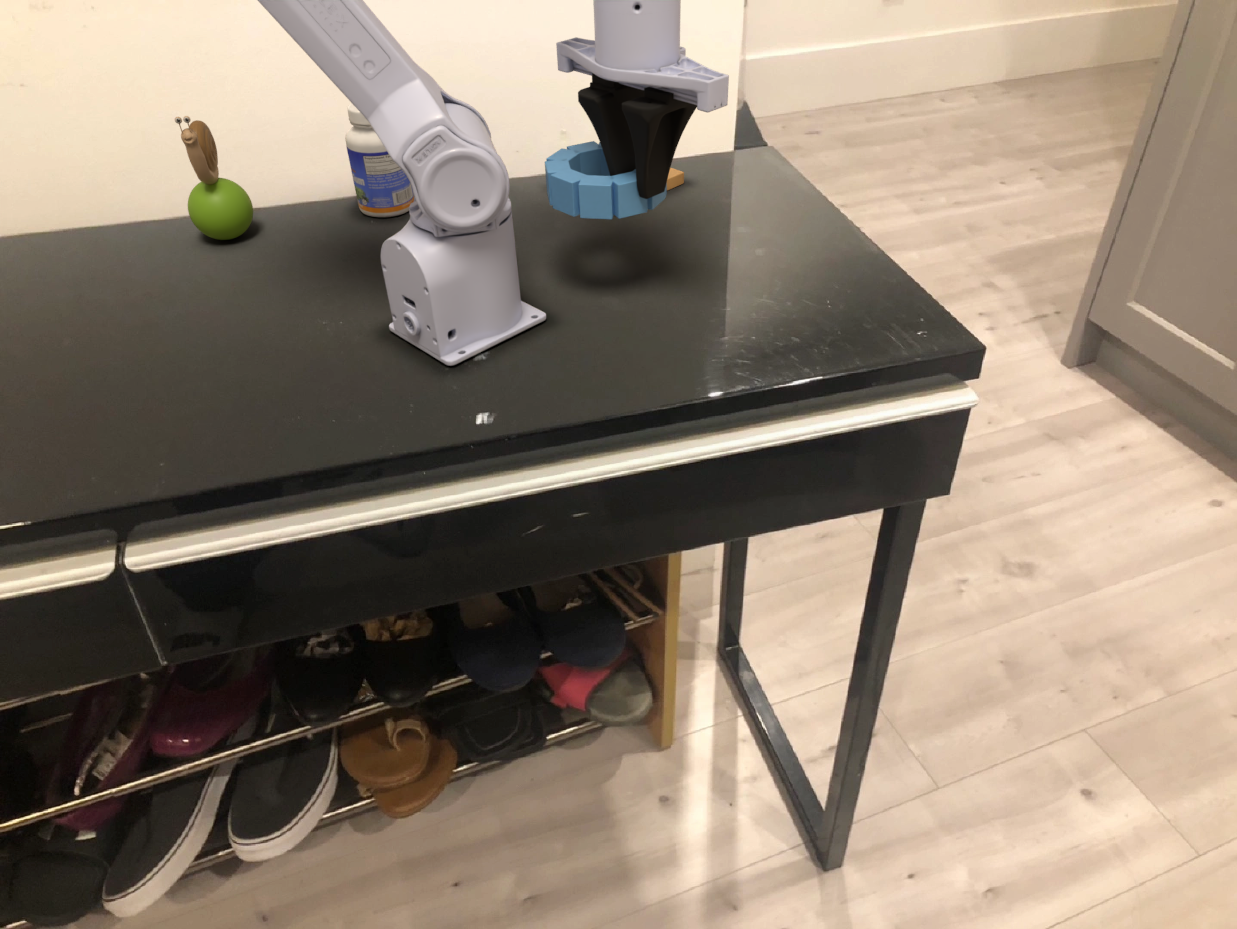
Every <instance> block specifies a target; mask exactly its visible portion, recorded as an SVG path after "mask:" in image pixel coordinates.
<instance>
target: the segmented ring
mask: <svg viewBox="0 0 1237 929" xmlns="http://www.w3.org/2000/svg"><path fill="white" fill-rule="evenodd" d="M545 159H546V160H545V161H544V172H545V186H546V194H547V199H548V204H549V206H552V209H554V210H556V211H559V212H561V213H563V214H566V215H568V216H570V217H573V218H576V217H577V216H579V218H580V219H589V220H590V219H592V220H613V218H614V216H615V217H616V218H617V219H619V220H621V219H625V218H629V217H633V216H638V215H641V214H645V213H648V210H650V211H653V210H655V209H656V208H657V207H658V206H659V205H660V204H661V203H662V202H664V201H665V200H666V198H667V195H668V193H667V192H668V190H667V183H666V187H665V191H664V192H663V193H660V194H658V195H656V196H653V197H651V198H649V199H644V198H642V197H640V196H639V193H638V188H637V181H636V169H635V170H634V171H632V172H627V173H623V174H618V175H614V176H610V173H609V170H608V166H607V163H606V159H605V156H604V153H603V150H602V147H601V144H600V141H599V143H598V142H596V141H595V140H593V141H591V140H590V141H588V142H582V143H577V144H572V145H568V146H566V148H560V149H558V150H557V151H556V152H554V153H552V154H551V155H549V156H548V157H546V158H545Z"/></svg>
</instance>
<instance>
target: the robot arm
mask: <svg viewBox="0 0 1237 929" xmlns="http://www.w3.org/2000/svg"><path fill="white" fill-rule="evenodd" d="M257 1H258V3H259V4H260V5H261V6H262V7H263V8H264V9H265V10H266V11H267V13H269V15H270V16H271V17H272V18H273V19H274V20H275V21H276V22H277V24H279V26H280V27H281V28H282V29H283V30H284V31H285V32H286V33H287V34H288V35H289V37H291V38H292V40H293V41H294V42H295V43H296V44H297V45H298V46H299V48H300V49H302V51H303V52H304V53H305V54H306V55H307V56H308V57H309V58H310V59H311V60H312V62H313V63H314V64H315V65H316V66H317V67H318V68H319V69H320V71H322V73H324V74H325V76H326V77H327V78H328V79H329V81H331V82H332V83H333V84H334V86H335V87H336V88H337V89H338V90H339V91H340V92H341V93H342V94H343V95H344V96H345V98H346V99H348V101H349V102H350V104H351V103H352V104H353V105H354V106H355V107H356V108H357V109H358V110H359V111H360V112H361V114H362V115H363V116H364V117H365V118H366V119H367V120H368V122H369V123H370V125H371V126H372V128H373V129H374V131H375V132H376V134H377V136H378V137H379V139H380V141H381V142H382V144H383V145H384V147H385V149H386V150H387V152H388V154H389V155H390V157H391V158H392V159H393V161H394V162H395V163H396V164H397V165H398V166H399V167H400V168H401V169H402V171H403V172H404V173H405V174H406V176H407V178H408V179H409V181H410V183H411V186H412V189H413V193H414V202H413V203H411V204H410V206H409V211H408V212H409V219H408V221H407V222H406V224H404V226H403V227H402V228H401V229H400V230H399V231H397V232H396V233H395V234H393V235H392V236H390V237H388V238H386V240H384V242H382V245H381V248H380V264H381V269H382V275H383V280H384V285H385V289H386V295H387V300H388V304H389V310H390V314H391V319H392V322H390V323H389V325H388V329H389V331H390V332H391V333H393V334H395V335H396V336H398V337H400V338H401V339H403V340H404V341H406V342H408V343H410V344H411V345H413V346H415V347H416V348H418V349H420V350H421V351H423V352H424V353H426V354H428V355H429V356H430V357H432V358H435V359H436V360H438V361H439V362H441V363H442V364H443V365H446V366H448V367H449V366H450V367H452V366H456V365H458V364H460V363H462V362H464V361H466V360H468V359H470V358H472V357H474V356H476V355H478V354H480V353H481V352H484V351H486V350H488V349H491V348H492V347H494V346H496V345H498V344H501V343H502V342H505V341H507V340H508V339H511V338H512V337H514V336H517V335H518V334H521V333H522V332H525V331H526V330H529V329H530V328H533V327H534V326H536V325H538V324H540V323H543V322H544V321H546V320H547V313H546V312H545V311H542V310H541V309H539V308H537V307H535V306H532V305H531V304H529V303H526V302H525V301H523V300H522V297H521V288H520V278H519V267H518V259H517V257H518V256H517V249H516V241H515V240H516V239H515V238H516V237H515V230H514V220H513V208H512V201H511V199H510V198H509V196H510V189H511V188H510V187H511V186H510V184H511V183H510V176H509V172H508V169H507V166H506V164H505V163H504V161H503V159H502V156H500V155H499V153H498V152H497V149H496V147H495V144H494V143H493V140H492V134H491V131H490V128H489V125H488V123H487V122H486V120H485V118H484V117H483V115H482V114H481V113H480V111H478V110H477V109H476V108H475V107H473V106H472V105H470V104H469V103H467V102H465V101H462V100H460V99H458V98H455V97H454V96H452V95H450V94H449V93H448V92H447V91H445V90H444V89H443V88H442V87H441V86H440V84H438V82H437V81H436V80H435V79H434V77H433V76H432V75H431V74H429V73H428V72H427V71H426V70H425V69H423V68H422V67H421V66H420V65H418V63H416V62H415V60H414V59H413V58H412V57H411V56H410V54H409V53H408V52H407V51H406V50H405V49H404V48H403V46H402V44H400V43H399V41H398V40H397V39H396V38H395V37H394V36H393V34H392V33H391V32H390V31H389V30H388V28H387V27H386V26H385V25H384V24H383V23H382V21H381V20H380V19H379V17H378V16H377V15H376V14H375V13H374V12H373V10H372V9H371V7H370V6H369V5H368V4H367V3H366V2H365V1H364V0H257ZM593 25H594V26H593V27H594V30H593V31H594V39H586V38H582V37H576V36H575V37H572V38H569V39H565V40H560V41H557V42H556V43H555V44H556V45H555V46H556V60H557V62H556V63H557V71H559V72H562V73H568V74H569V73H572V72H577V73H581V74H584V75H587V76H591V82H590V83H589V86H588V87H584V88H581V89H579V90H578V92H577V100H578V103H579V105H580V107H581V108H582V109H583V111H584V112H585V114H586V116H587V118H588V119H589V120H590V123H591V125H592V127H593V129H594V131H595V134H596V135H597V138H598V141H599V142H600V144H601V147H602V150H603V153H604V156H605V159H606V163H607V166H608V170H609V173H610V176H614V175H618V174H623V173H627V172H632V171H634V170H635V169H636V181H637V188H638V193H639V196H640V197H642V198H644V199H649V198H651V197H653V196H656V195H658V194H660V193H663V192H664V191H665V187H666V183H667V179H668V175H669V171H670V168H672V167H671V166H672V163H673V159H674V156H675V155H676V154H675V153H676V151H677V148H678V145H679V142H680V140H681V138H682V136H683V133H684V131H685V129H686V128H687V125H688V123H689V121H690V119H691V118H692V117H693V114H694V113H695V111H696V110H698V111H701V112H704V113H710V112H713V111H716V110H719V109H721V108H724V107H727V106H728V105H729V104H728V102H729V81H730V75H729V74H726V73H723V72H719V71H716V70H714V69H711V68H709V67H707V66H705V65H703V64H702V63H700V62H698V61H696V60H694V59H693V58H692V59H691V58H690V57H688V56H686V55H687V54H686V53H687V52H686V50H687V49H686V48H685V47H684V46H681V0H593Z"/></svg>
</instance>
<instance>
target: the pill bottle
mask: <svg viewBox="0 0 1237 929" xmlns="http://www.w3.org/2000/svg"><path fill="white" fill-rule="evenodd" d="M347 115H348V121H349V124H350V125H352V127H350V128H349V129H348V130H347V132H346V134H345V136H344V138H345V146H346V151H347V156H348V161H349V166H350V170H351V176H352V180H353V185H354V191H355V196H356V200H357V205H358V208H359V211H360V212H361V213H362V214H363V215H365V216H367V217H368V216H369V217H372V218H392V217H397V216H401V215H404V214H406V213H407V212H409V206H410V204H411V203H413V202H414V197H415V196H414V193H413V189H412V186H411V183H410V181H409V179H408V178H407V176H406V174H405V173H404V172H403V171H402V169H401V168H400V167H399V166H398V165H397V164H396V163H395V162H394V161H393V159H392V158H391V157H390V155H389V154H388V152H387V150H386V149H385V147H384V145H383V144H382V142H381V141H380V139H379V137H378V136H377V134H376V132H375V131H374V129H373V128H372V126H371V125H370V123H369V122H368V120H367V119H366V118H365V117H364V116H363V115H362V114H361V112H360V111H359V110H358V109H357V108H356V107H355V106H354V105H353V104H352V103H351V102H350V103H349V104H348V106H347Z"/></svg>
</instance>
